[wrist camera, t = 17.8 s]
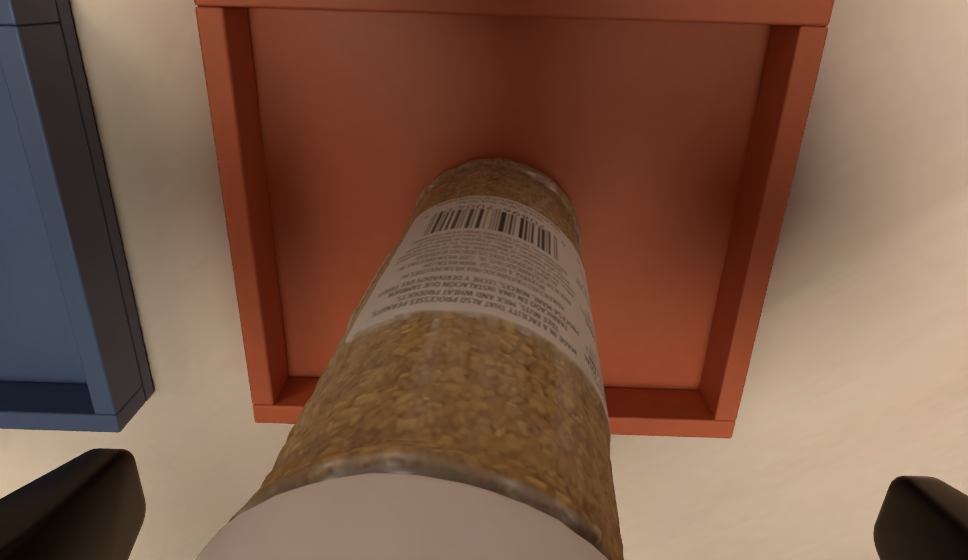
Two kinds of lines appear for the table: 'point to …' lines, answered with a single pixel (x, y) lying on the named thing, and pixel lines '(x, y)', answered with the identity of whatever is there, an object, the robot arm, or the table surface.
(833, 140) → the table surface
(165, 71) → the table surface
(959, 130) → the table surface
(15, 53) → the blue tray
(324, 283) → the terracotta tray
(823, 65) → the table surface
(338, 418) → the sprinkles bottle
